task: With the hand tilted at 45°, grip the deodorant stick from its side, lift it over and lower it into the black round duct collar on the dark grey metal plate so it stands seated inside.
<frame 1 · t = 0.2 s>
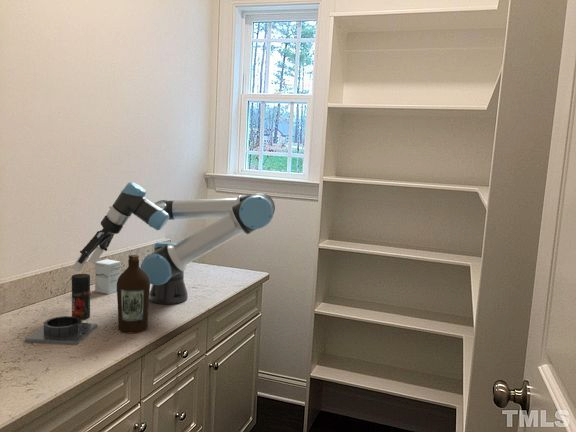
hand: (83, 265, 190), 15 cm above the counter, tool tilted 35°, fingers open, 13 cm apart
olive oil: (132, 329, 171), on the counter
deodorant: (81, 317, 179), on the counter
duct flange: (62, 333, 163), on the counter
supplement box: (107, 291, 212), on the counter
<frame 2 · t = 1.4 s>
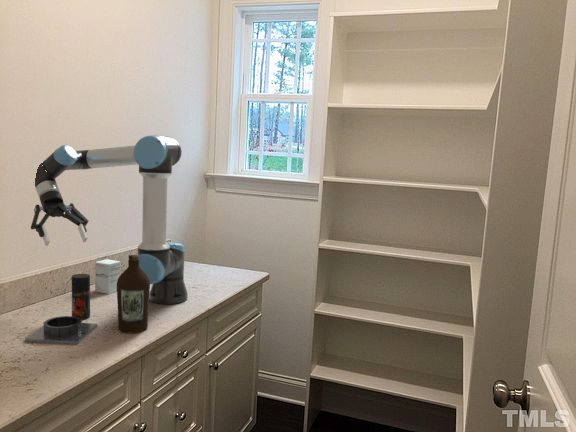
hand: (67, 241, 183), 25 cm above the counter, tool tilted 45°, fingers open, 13 cm apart
nothing on the counter moved.
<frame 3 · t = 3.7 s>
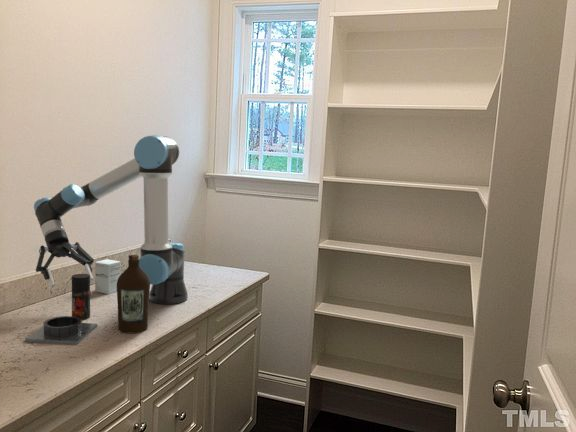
hand: (72, 283, 180), 11 cm above the counter, tool tilted 45°, fingers open, 13 cm apart
nothing on the counter moved.
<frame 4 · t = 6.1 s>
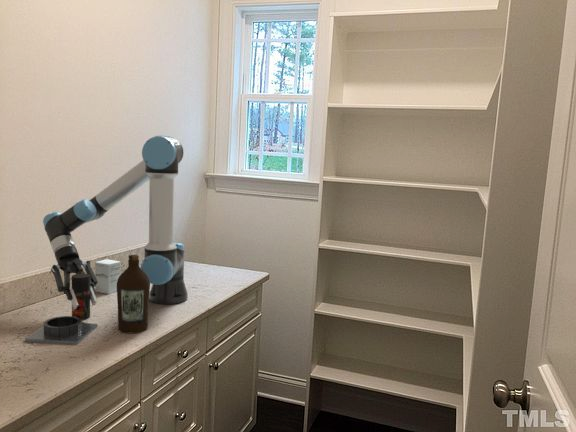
hand: (85, 305, 176), 5 cm above the counter, tool tilted 45°, fingers closed on deodorant, 6 cm apart
deodorant: (81, 317, 179), on the counter, touching gripper
everything else where it was.
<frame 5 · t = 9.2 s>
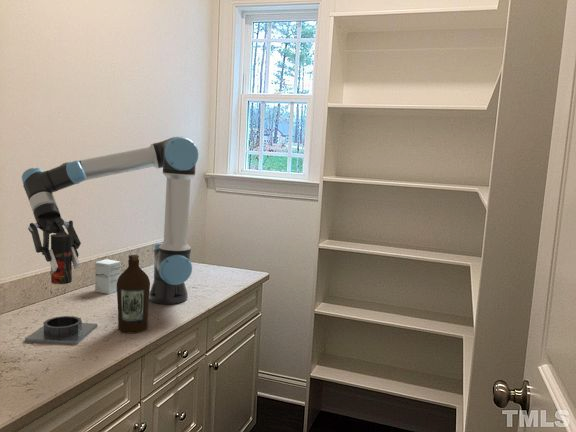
hand: (66, 267, 158), 22 cm above the counter, tool tilted 45°, fingers closed on deodorant, 6 cm apart
deodorant: (61, 282, 161), point 17 cm above the counter, touching gripper
everything else where it was.
when the fingers open (8 cm above the counter, at t = 12.3 s): deodorant drops 1 cm, resting on duct flange.
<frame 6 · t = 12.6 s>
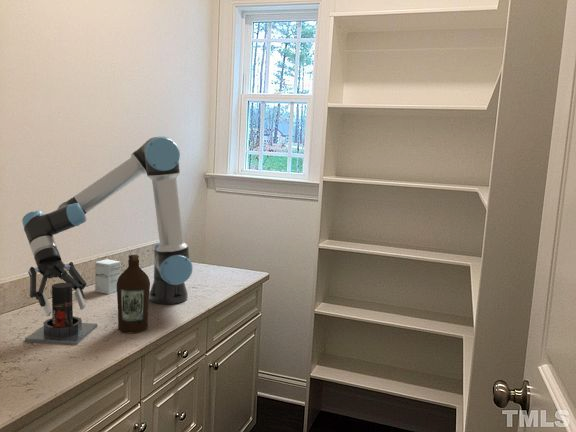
hand: (66, 310, 160), 8 cm above the counter, tool tilted 45°, fingers open, 10 cm apart
deodorant: (62, 331, 163), point 1 cm above the counter, touching duct flange
everything else where it was.
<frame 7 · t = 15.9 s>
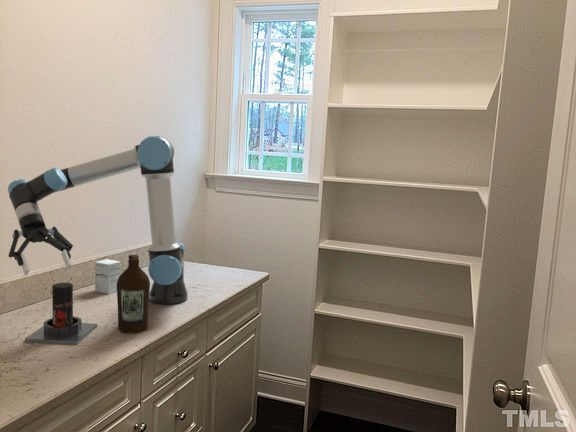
hand: (48, 270, 168), 19 cm above the counter, tool tilted 45°, fingers open, 13 cm apart
nothing on the counter moved.
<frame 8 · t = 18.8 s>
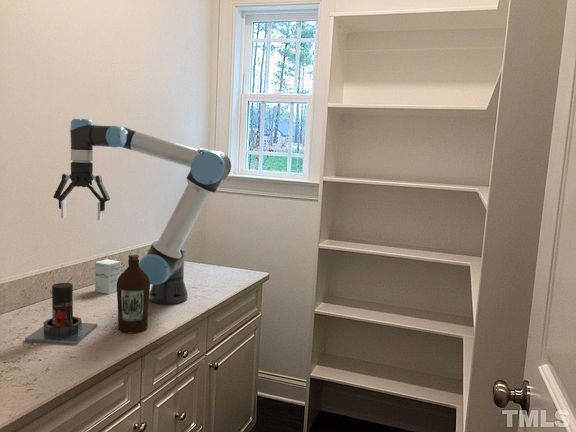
hand: (81, 218, 190), 33 cm above the counter, tool pointing down, fingers open, 13 cm apart
nothing on the counter moved.
at the end: deodorant 0.1 cm off-centre on the duct flange, point 0.8 cm above the duct flange's base; deodorant tilted 0°; the gripper is holding nothing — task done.
